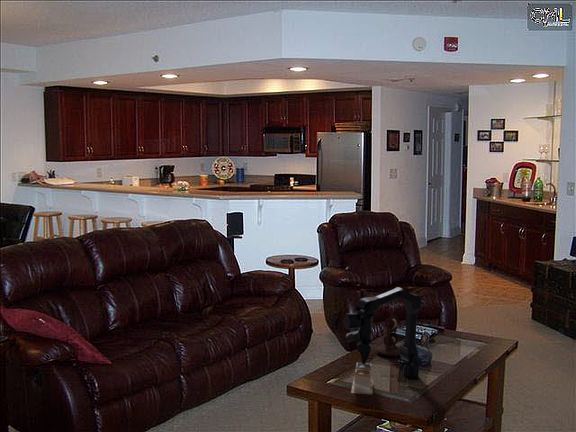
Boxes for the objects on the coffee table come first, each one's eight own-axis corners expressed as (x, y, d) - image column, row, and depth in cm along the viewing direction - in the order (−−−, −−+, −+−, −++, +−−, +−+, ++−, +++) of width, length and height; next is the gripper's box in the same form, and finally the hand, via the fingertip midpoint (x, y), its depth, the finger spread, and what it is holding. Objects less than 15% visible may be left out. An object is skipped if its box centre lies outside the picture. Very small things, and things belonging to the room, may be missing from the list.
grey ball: (368, 367, 295) (360, 363, 296) (367, 369, 291) (359, 364, 292) (364, 375, 295) (356, 370, 296) (363, 377, 291) (355, 372, 292)
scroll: (382, 348, 348) (384, 311, 346) (408, 353, 341) (410, 316, 339) (371, 355, 336) (373, 317, 334) (398, 360, 328) (400, 322, 326)
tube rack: (353, 379, 299) (354, 361, 298) (373, 381, 297) (374, 363, 296) (351, 394, 281) (351, 374, 280) (371, 396, 280) (372, 376, 279)
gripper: (349, 320, 301) (347, 352, 303) (346, 331, 283) (344, 365, 285) (373, 322, 300) (371, 354, 301) (371, 333, 281) (370, 368, 283)
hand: (364, 360), depth 293 cm, fingers open, 9 cm apart
